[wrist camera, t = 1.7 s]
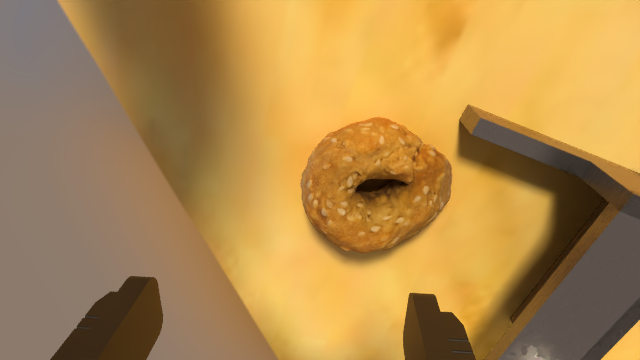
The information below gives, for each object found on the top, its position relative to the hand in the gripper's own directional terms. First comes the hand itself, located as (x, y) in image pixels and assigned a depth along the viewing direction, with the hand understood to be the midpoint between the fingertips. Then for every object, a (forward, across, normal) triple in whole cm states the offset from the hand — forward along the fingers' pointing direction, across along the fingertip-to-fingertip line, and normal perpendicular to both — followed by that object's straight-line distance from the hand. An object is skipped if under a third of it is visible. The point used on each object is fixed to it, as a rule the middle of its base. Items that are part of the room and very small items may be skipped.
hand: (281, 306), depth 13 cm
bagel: (+19, -5, +4) cm, 20 cm away
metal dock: (+19, -16, +8) cm, 26 cm away
